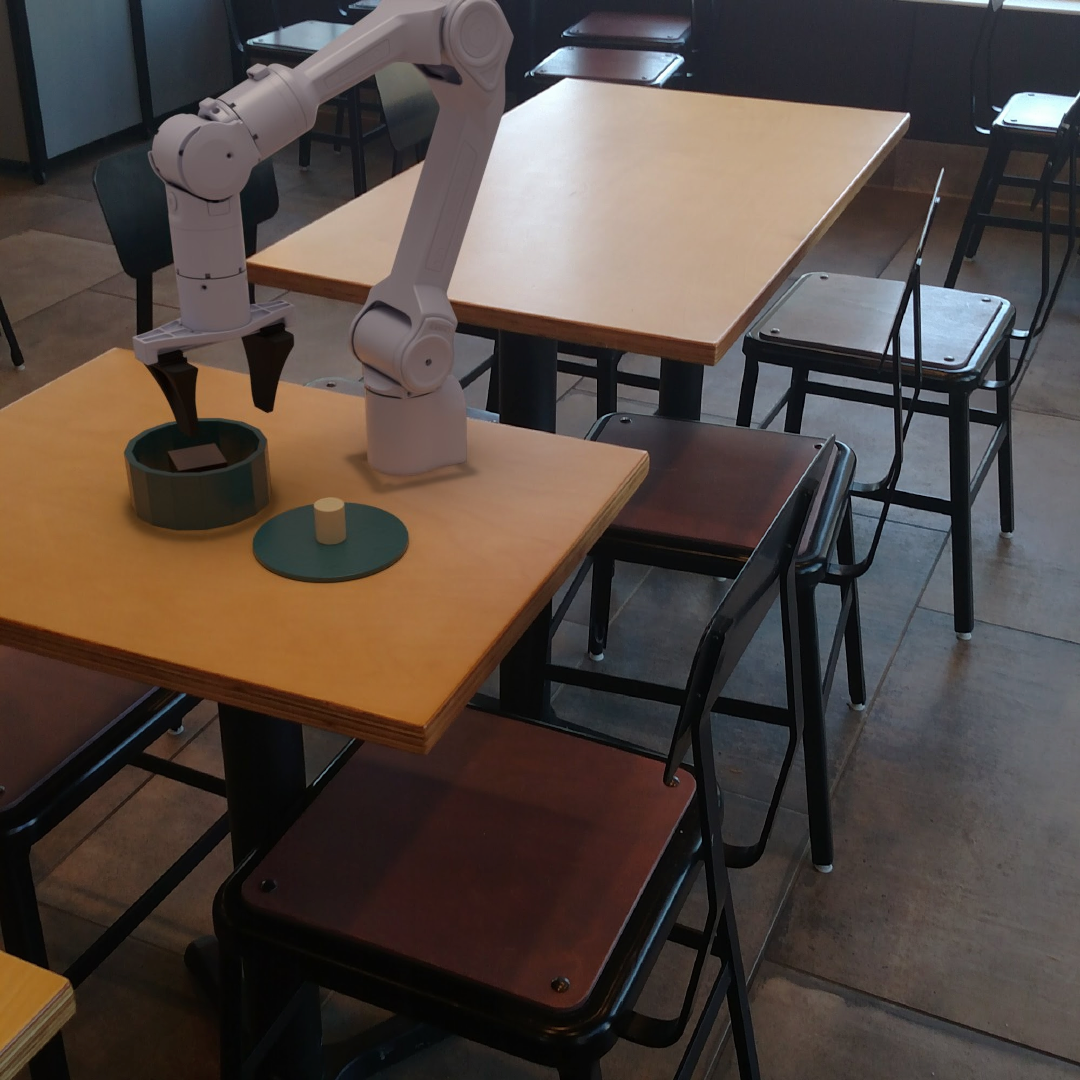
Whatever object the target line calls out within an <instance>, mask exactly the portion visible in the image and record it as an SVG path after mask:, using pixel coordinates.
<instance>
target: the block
mask: <svg viewBox="0 0 1080 1080" xmlns="http://www.w3.org/2000/svg"><path fill="white" fill-rule="evenodd" d="M167 453H168V461H169V468H170V472H172V473H197V472H205V471H210V470H216V469H221V468H226V467H228V463H227V461H226V459H225V458H224V456H223V455H222V453H221V452H220V450H219V449H218V447H217V446H216V444H215V443H213V444H207V445H202V446H196V447H190V448H184V449H178V450H173V451H167Z"/></svg>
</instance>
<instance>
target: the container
mask: <svg viewBox="0 0 1080 1080" xmlns="http://www.w3.org/2000/svg"><path fill="white" fill-rule="evenodd" d="M213 443H215V444H216V446H217V447H218V449H219V450H220V452H221V453H222V455H223V456H224V458H225V459H226V461H227V463H228V467H226V468H221V469H216V470H210V471H205V472H197V473H172V472H170V468H169V461H168V453H167V451H173V450H178V449H184V448H190V447H196V446H202V445H207V444H213ZM123 457H124V464H125V470H126V477H127V484H128V491H129V497H130V505H131V507H132V509H133V512H134V513H135V516H136V517H137V518H139V519H140V520H142V521H144V522H146V523H148V524H149V525H151V526H153V527H157V528H162V529H168V530H172V531H209V530H213V529H218V528H224V527H228V526H233V525H236V524H238V523H241V522H243V521H245V520H248V519H251V518H252V517H255V516H257V515H258V514H259V513H260V512H261V511H262V510H264V508H265V507H267V506H268V505H269V504H270V502H271V498H272V497H271V496H272V492H273V488H272V477H271V466H270V465H271V463H270V455H269V442H268V438H267V437H266V436H265V434H264V433H263V432H262V430H261V429H260V428H258V427H256V426H254V425H251V424H249V423H247V422H245V421H243V420H241V421H240V420H235V419H231V418H230V419H229V418H223V417H198V435H197V436H193V437H189V436H188V435H186V434H184V433H183V432H181V431H179V429H178V426H177V423H176V420H174V421H167V422H164V423H161V424H159V425H156V426H153V427H150V428H147V429H145V430H142V431H141V432H140V433H138V434H136V435H135V436H134V437H132V438H130V439H129V440H128V443H127V445H126V446H125V449H124V451H123Z"/></svg>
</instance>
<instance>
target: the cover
mask: <svg viewBox="0 0 1080 1080" xmlns="http://www.w3.org/2000/svg"><path fill="white" fill-rule="evenodd" d="M409 536H410V535H409V531H408V529H407V526H406V525H405V523H404V522H403V521H402V520H401V519H400V518H398V517H397V516H396V515H394V514H393V513H391V512H389V511H387V510H385V509H382V508H379V507H376V506H373V505H369V504H363V503H357V502H347V501H344V500H343V499H341V498H338V497H331V496H329V497H322V498H319V499H318V500H316V501H315V502H314V503H313V504H307V505H301V506H297V507H294V508H291V509H288V510H285V511H283V512H281V513H279V514H277V515H275V516H273V517H271V518H270V519H268V520H267V521H265V522H264V523H263V524H261V526H259V528H258V529H257V531H256V532H255V533H254V536H253V538H252V552H253V555H254V558H255V559H256V560H257V561H258V562H259V564H260V565H261V566H262V567H263V568H265V569H266V570H268V571H270V572H272V573H273V574H276V575H278V576H281V577H283V578H287V579H290V580H295V581H302V582H309V583H338V582H346V581H352V580H357V579H362V578H364V577H365V578H366V577H368V576H369V577H370V576H372V575H374V574H377V573H379V572H381V571H384V570H385V569H387V568H389V567H391V566H393V565H394V564H395V563H396V562H398V561H399V560H400V559H401V558H402V557H403V556H404V554H405V553H406V551H407V549H408V546H409V541H410V539H409V538H410V537H409Z"/></svg>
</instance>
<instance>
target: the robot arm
mask: <svg viewBox="0 0 1080 1080" xmlns="http://www.w3.org/2000/svg"><path fill="white" fill-rule="evenodd" d="M514 37H515V36H514V33H513V32H512V30H511V27H510V25H509V23H508V20H507V18H506V16H505V14H504V11H503V10H502V8H501V6H500V4H499V3H498V2H497V1H496V0H380V2H379V3H378V4H377V6H376V7H375V8H374V9H373V10H372V11H371V12H370V13H368V14H367V15H365V16H364V17H363V18H361V19H360V20H359V21H357V22H356V23H355V24H353V25H352V26H350V27H349V28H348V29H346V30H345V31H343V32H342V33H340V34H339V35H338V36H337V37H335V38H334V39H332V40H331V41H329V42H328V43H327V44H326V45H324V46H323V47H322V48H320V49H319V50H317V51H316V52H315V53H313V54H312V55H310V56H309V57H308V58H306V59H304V61H302V62H301V63H299V64H298V65H296V66H295V67H293V68H291V67H289V66H286V65H283V64H280V63H271V64H268V66H267V65H265V64H261V63H256V64H254V65H252V66H251V67H249V68H248V69H247V70H246V74H247V77H248V78H247V79H245V80H243V81H242V82H241V83H239V84H237V85H236V86H234V87H233V88H230V90H228V91H226V92H225V93H223V94H221V95H220V96H219V97H217V98H215V99H214V98H212V97H206V98H205V99H203V100H201V101H200V102H199V103H198V106H199V110H198V112H197V115H196V114H194V113H193V114H192V113H188V114H187V113H179V114H175V115H173V116H171V117H169V118H167V119H166V120H165V121H163V123H161V125H160V126H159V127H158V128H157V130H158V132H157V133H156V134H154V137H153V141H152V147H151V148H152V149H151V150H149V151H148V152H147V158H148V161H149V164H150V166H151V169H152V170H153V172H154V173H155V175H156V176H157V177H158V178H159V179H160V180H161V181H162V182H163V183H164V185H165V194H166V195H165V196H166V203H167V211H168V223H169V232H170V239H171V247H172V256H173V265H174V272H175V280H176V287H177V296H178V305H179V314H180V317H179V318H176V319H174V320H171V321H169V322H167V323H165V324H163V325H161V326H158V327H157V328H154V329H152V330H149V331H147V332H144V333H141V334H138V335H135V336H132V337H131V338H132V345H133V353H134V359H136V360H137V361H139V362H140V363H142V364H143V365H144V366H145V368H146V369H147V371H148V372H149V373H150V375H151V376H152V377H153V379H154V380H155V382H156V383H157V385H158V386H159V388H160V389H161V392H162V394H163V395H164V397H165V399H166V401H167V403H168V405H169V407H170V409H171V412H172V414H173V417H174V421H176V423H177V426H178V429H179V431H181V432H183V433H184V434H186V435H188V436H189V437H193V436H197V435H198V418H199V417H198V412H197V411H198V410H197V401H196V400H197V397H196V396H197V393H196V392H197V380H198V374H199V367H197V366H195V365H193V364H192V363H189V362H188V357H187V356H184V353H186V352H190V351H194V350H198V349H202V348H205V347H210V346H213V345H216V344H221V343H224V342H228V341H233V340H236V339H241V341H242V344H243V348H244V353H245V356H246V361H247V366H248V370H249V380H250V381H249V382H250V391H251V398H252V401H253V407H255V408H257V410H260V411H262V412H264V413H265V414H269V413H272V412H274V407H275V403H276V397H277V391H278V387H279V382H280V380H281V379H280V378H281V375H282V372H283V369H284V367H285V364H286V362H287V360H288V358H289V355H290V353H291V352H292V350H293V349H294V347H295V335H294V333H292V332H290V331H288V330H286V329H289V328H292V327H293V328H294V327H296V326H297V319H296V305H295V304H293V303H291V302H289V301H286V300H284V299H278V300H274V301H265V302H260V303H250V291H249V282H248V281H249V279H248V272H247V271H248V270H247V260H246V258H247V257H246V249H245V237H244V236H245V235H244V227H243V214H242V208H241V196H240V193H241V192H242V191H243V190H244V188H245V187H246V185H247V184H248V181H249V179H250V176H251V172H252V169H253V168H254V167H256V166H257V165H258V164H260V163H261V162H263V161H264V160H266V159H268V158H269V157H270V156H272V155H273V154H275V153H276V152H278V151H280V150H281V149H283V148H284V147H286V146H287V145H289V144H290V143H292V142H293V141H296V140H297V139H298V138H300V137H301V136H303V135H304V134H305V133H307V132H308V131H310V130H312V129H313V128H314V126H315V123H316V119H317V115H318V108H319V106H320V105H322V104H324V103H326V102H328V101H329V100H331V99H333V98H334V97H336V96H338V95H340V94H342V93H343V92H345V91H347V90H349V89H351V88H352V87H354V86H356V85H357V84H359V83H360V82H363V81H364V80H366V79H368V78H370V77H372V76H373V75H375V74H377V73H379V72H380V71H382V70H383V69H386V68H387V67H389V66H390V65H393V64H395V63H405V64H407V63H408V64H411V65H412V66H413V68H415V69H416V70H417V71H418V72H419V73H420V74H421V76H422V77H423V78H424V79H425V80H426V82H427V84H428V85H429V87H430V89H431V91H432V93H433V96H434V98H435V99H436V101H437V103H438V105H439V112H438V114H437V117H436V121H435V124H434V128H433V131H432V135H431V137H430V141H429V144H428V148H427V151H426V154H425V158H424V162H423V165H422V168H421V171H420V175H419V177H418V181H417V184H416V188H415V191H414V193H413V198H412V201H411V205H410V207H409V211H408V214H407V217H406V221H405V225H404V227H403V231H402V234H401V238H400V241H399V244H398V247H397V251H396V254H395V258H394V262H393V264H392V268H391V270H390V274H389V275H388V276H387V277H385V278H383V279H382V280H380V281H379V282H377V283H376V284H374V285H373V286H372V287H371V288H370V289H369V292H368V296H367V299H366V301H365V303H364V305H363V307H362V308H361V310H360V311H358V313H357V314H356V315H355V316H354V318H353V320H352V322H351V324H350V327H349V330H348V335H347V339H348V340H347V341H348V348H349V350H350V353H351V355H352V356H353V357H354V359H355V360H356V361H357V362H359V363H360V364H361V375H362V376H363V389H364V391H363V393H364V410H365V411H364V412H365V413H364V415H365V432H366V453H367V464H368V465H369V467H370V468H371V469H373V470H375V471H377V472H378V473H382V474H385V475H389V476H396V477H398V476H399V477H406V476H415V475H421V474H425V473H428V472H430V471H434V470H436V469H439V468H443V467H449V466H454V465H458V464H463V463H466V462H467V461H468V458H467V457H468V444H467V443H468V441H467V440H468V438H467V437H468V435H467V434H468V432H467V431H468V430H467V429H468V423H467V422H468V421H467V420H468V419H467V418H468V417H467V412H468V411H467V403H466V397H465V394H464V391H463V388H462V385H461V383H460V382H459V380H458V379H457V377H456V376H454V375H453V374H450V373H451V371H452V369H453V365H454V361H455V346H454V339H455V334H456V330H457V327H458V324H459V323H458V319H457V315H456V313H455V312H454V309H453V307H452V304H451V302H450V300H449V299H450V298H449V296H448V290H449V287H450V283H451V281H452V277H453V274H454V271H455V268H456V265H457V261H458V258H459V255H460V252H461V249H462V246H463V243H464V239H465V236H466V233H467V230H468V226H469V223H470V220H471V216H472V214H473V210H474V207H475V203H476V201H477V197H478V194H479V191H480V188H481V184H482V182H483V179H484V175H485V173H486V169H487V166H488V162H489V159H490V156H491V153H492V150H493V147H494V143H495V140H496V137H497V134H498V130H499V127H500V125H501V121H502V117H503V115H504V110H505V106H506V64H507V61H508V57H509V54H510V51H511V48H512V45H513V41H514Z"/></svg>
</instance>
